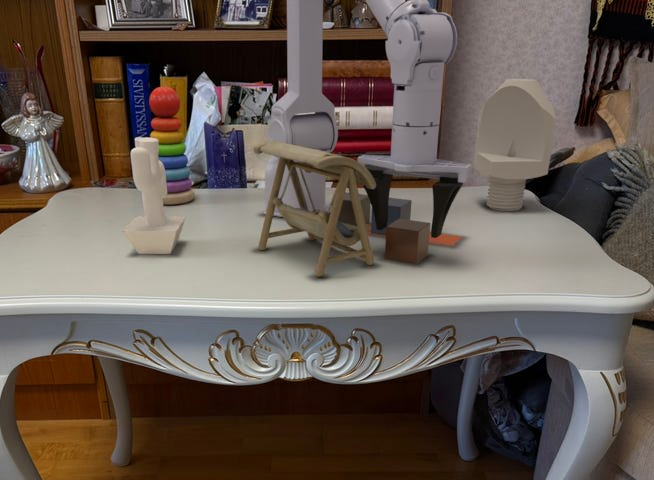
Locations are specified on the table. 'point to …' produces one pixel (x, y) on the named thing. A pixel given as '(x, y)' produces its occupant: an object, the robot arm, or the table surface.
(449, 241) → the line strip
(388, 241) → the walnut block
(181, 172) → the stacking toy
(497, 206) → the beige tall piece
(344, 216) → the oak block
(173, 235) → the figurine
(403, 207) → the slate block
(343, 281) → the table surface
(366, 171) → the swing bench
